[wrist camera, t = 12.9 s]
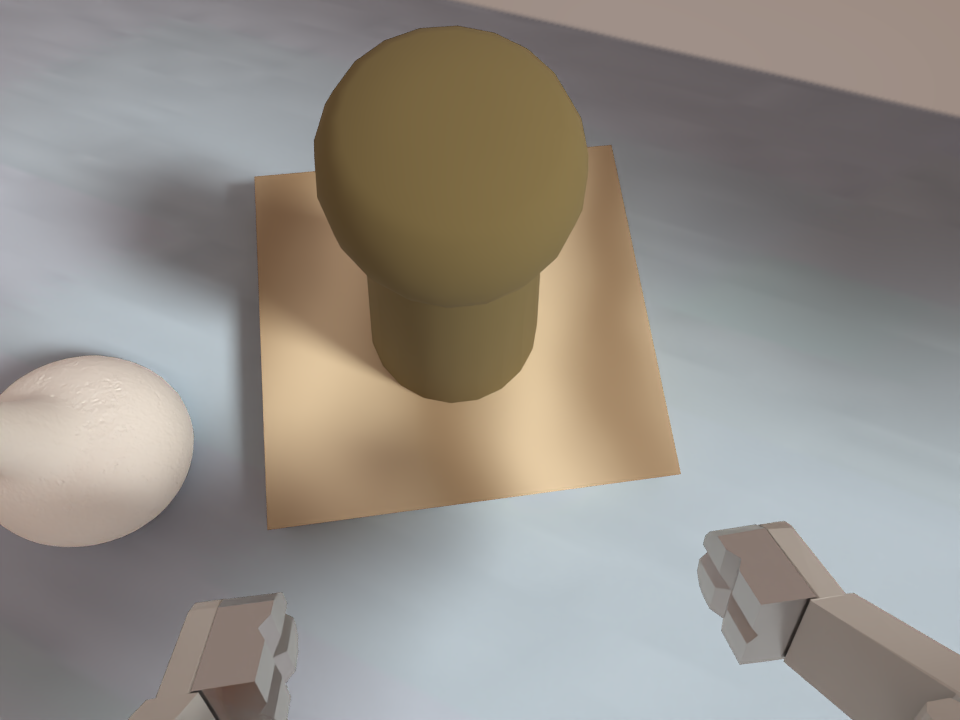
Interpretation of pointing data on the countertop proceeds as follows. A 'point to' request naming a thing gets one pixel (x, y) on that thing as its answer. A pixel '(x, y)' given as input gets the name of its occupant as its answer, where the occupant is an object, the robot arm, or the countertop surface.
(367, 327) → the birch board
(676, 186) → the countertop surface
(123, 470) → the garlic bulb
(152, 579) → the countertop surface
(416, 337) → the cork
